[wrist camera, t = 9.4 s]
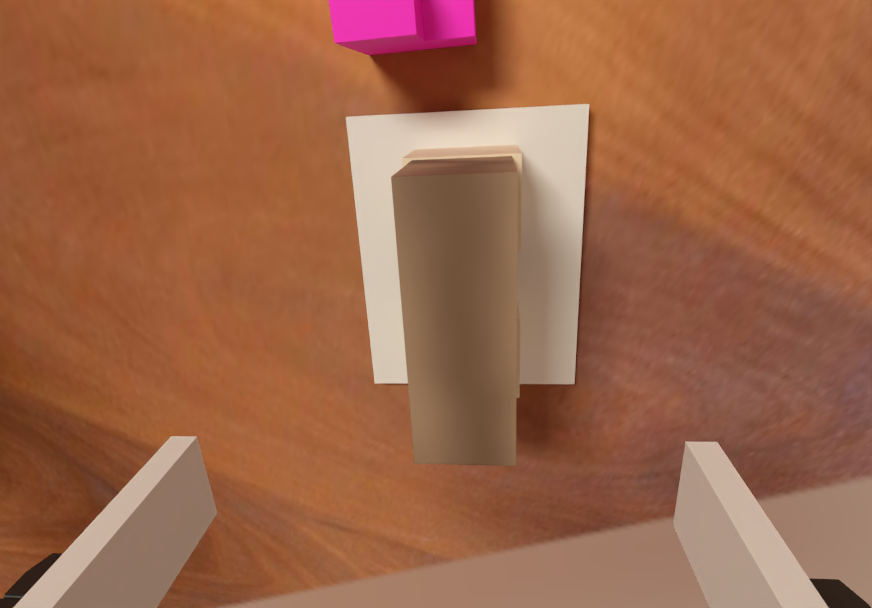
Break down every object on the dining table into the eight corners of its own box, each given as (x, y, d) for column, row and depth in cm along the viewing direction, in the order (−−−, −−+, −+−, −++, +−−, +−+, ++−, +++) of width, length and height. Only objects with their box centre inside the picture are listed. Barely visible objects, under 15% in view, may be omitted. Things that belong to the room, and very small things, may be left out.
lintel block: (428, 398, 31) (414, 463, 26) (411, 160, 26) (390, 177, 21) (511, 399, 31) (516, 465, 25) (511, 155, 26) (517, 172, 20)
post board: (377, 376, 38) (358, 424, 32) (350, 116, 31) (319, 120, 26) (572, 376, 36) (587, 426, 31) (586, 103, 30) (607, 105, 24)
